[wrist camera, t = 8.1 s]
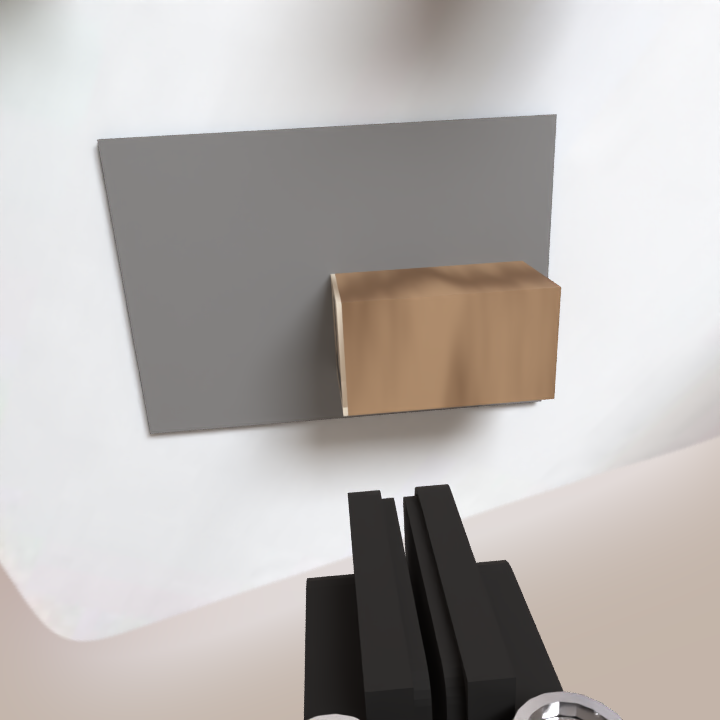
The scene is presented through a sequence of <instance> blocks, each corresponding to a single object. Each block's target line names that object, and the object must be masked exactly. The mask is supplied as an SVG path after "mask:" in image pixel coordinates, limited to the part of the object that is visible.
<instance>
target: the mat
mask: <svg viewBox="0 0 720 720" xmlns="http://www.w3.org/2000/svg"><path fill="white" fill-rule="evenodd" d="M556 116H557V115H554V114H553V115H535V116H517V117H498V118H480V119H462V120H443V121H425V122H407V123H389V124H370V125H352V126H334V127H316V128H297V129H279V130H261V131H243V132H224V133H206V134H188V135H169V136H151V137H133V138H115V139H99V140H97V141H98V147H99V152H100V158H101V163H102V169H103V174H104V180H105V185H106V191H107V196H108V202H109V207H110V213H111V219H112V224H113V230H114V235H115V241H116V246H117V252H118V257H119V263H120V268H121V274H122V279H123V285H124V290H125V296H126V301H127V307H128V312H129V318H130V323H131V329H132V334H133V340H134V345H135V351H136V356H137V362H138V367H139V373H140V378H141V384H142V389H143V395H144V400H145V406H146V411H147V417H148V423H149V428H150V434H154V433H166V432H178V431H190V430H202V429H214V428H226V427H238V426H250V425H262V424H274V423H286V422H298V421H310V420H322V419H334V418H346V417H358V416H370V415H382V414H394V413H406V412H418V411H430V410H442V409H454V408H466V407H478V406H490V405H502V404H514V403H526V402H538V401H541V400H533V401H521V402H509V403H497V404H485V405H473V406H461V407H449V408H437V409H424V410H412V411H400V412H388V413H376V414H364V415H352V416H343V409H342V402H341V396H340V389H339V383H338V376H337V365H336V350H335V335H334V320H333V305H332V290H331V275H330V274H338V273H352V272H367V271H381V270H396V269H410V268H425V267H439V266H453V265H468V264H482V263H497V262H511V261H524V262H525V263H527V264H528V265H529V266H531V267H532V268H534V269H535V270H537V271H538V272H540V273H541V274H543V275H544V276H546V277H547V278H548V265H549V247H550V228H551V209H552V191H553V172H554V153H555V135H556Z"/></svg>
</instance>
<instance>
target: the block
mask: <svg viewBox="0 0 720 720" xmlns="http://www.w3.org/2000/svg"><path fill="white" fill-rule="evenodd" d="M330 275H331V290H332V305H333V320H334V335H335V350H336V365H337V376H338V383H339V389H340V396H341V402H342V409H343V416H352V415H364V414H376V413H388V412H400V411H412V410H424V409H437V408H449V407H461V406H473V405H485V404H497V403H509V402H521V401H533V400H545V399H554V394H555V378H556V362H557V345H558V329H559V313H560V296H561V287H560V286H559V285H557V284H556V283H554V282H553V281H551V280H550V279H548V278H547V277H546V276H544V275H543V274H541V273H540V272H538V271H537V270H535V269H534V268H532V267H531V266H529V265H528V264H527V263H525V262H524V261H511V262H497V263H482V264H468V265H453V266H439V267H425V268H410V269H396V270H381V271H367V272H352V273H338V274H330Z"/></svg>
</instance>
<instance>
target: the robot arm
mask: <svg viewBox="0 0 720 720" xmlns="http://www.w3.org/2000/svg"><path fill="white" fill-rule="evenodd" d="M348 502H349V515H350V528H351V540H352V553H353V564H354V574H349V575H339V576H327V577H317V578H307V584H306V632H305V691H304V720H622V719H621V717H620V716H619V715H618V714H617V713H615V712H614V711H613V710H611V709H609V708H608V707H607V706H605V705H604V704H603V703H601V702H599V701H597V700H594V699H592V698H589V697H587V696H584V695H582V694H576V693H570V692H563V689H562V687H561V684H560V682H559V680H558V677H557V675H556V673H555V670H554V668H553V665H552V663H551V661H550V658H549V656H548V654H547V651H546V649H545V646H544V644H543V642H542V639H541V637H540V635H539V632H538V630H537V628H536V625H535V623H534V620H533V618H532V616H531V614H530V611H529V609H528V606H527V604H526V601H525V599H524V597H523V594H522V592H521V589H520V587H519V585H518V582H517V580H516V578H515V575H514V573H513V571H512V568H511V566H510V565H509V563H508V562H507V561H506V560H501V561H490V562H479V563H476V561H475V558H474V555H473V553H472V550H471V547H470V544H469V541H468V538H467V535H466V533H465V530H464V527H463V524H462V521H461V518H460V515H459V513H458V510H457V507H456V504H455V501H454V498H453V495H452V492H451V490H450V487H449V485H448V484H445V485H433V486H422V487H415V496H408V497H404V498H403V508H404V531H405V552H404V547H403V542H402V537H401V531H400V526H399V521H398V516H397V511H396V506H395V501H394V498H386V499H382V498H381V493H380V490H376V491H365V492H353V493H348ZM405 553H406V557H405Z"/></svg>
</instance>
